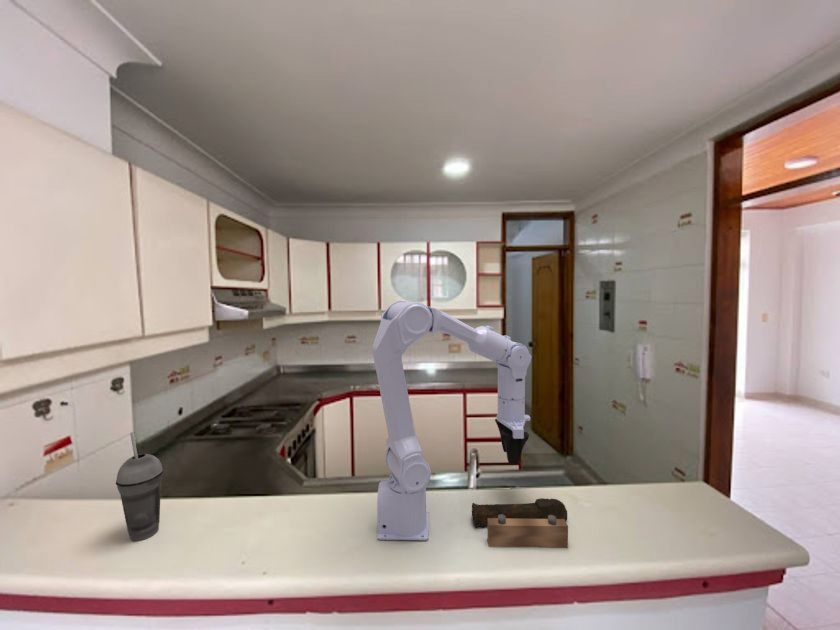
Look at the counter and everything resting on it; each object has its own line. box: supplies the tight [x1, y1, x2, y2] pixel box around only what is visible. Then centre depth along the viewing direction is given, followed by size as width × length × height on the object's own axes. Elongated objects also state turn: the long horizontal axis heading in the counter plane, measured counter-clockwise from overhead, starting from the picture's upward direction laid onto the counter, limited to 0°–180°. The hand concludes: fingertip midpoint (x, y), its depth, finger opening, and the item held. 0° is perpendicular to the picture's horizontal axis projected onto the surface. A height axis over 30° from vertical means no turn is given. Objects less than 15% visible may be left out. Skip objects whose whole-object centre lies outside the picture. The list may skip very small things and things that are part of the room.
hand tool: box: [471, 498, 568, 528], centre depth 71 cm, size 19×4×5 cm, turn 89°
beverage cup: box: [115, 432, 164, 542], centre depth 69 cm, size 7×7×20 cm
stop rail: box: [486, 514, 569, 549], centre depth 65 cm, size 14×2×5 cm, turn 88°
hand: (510, 457), depth 79 cm, fingers open, 5 cm apart
